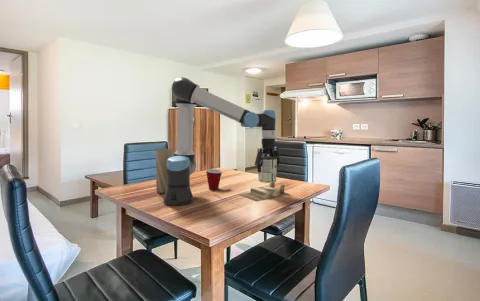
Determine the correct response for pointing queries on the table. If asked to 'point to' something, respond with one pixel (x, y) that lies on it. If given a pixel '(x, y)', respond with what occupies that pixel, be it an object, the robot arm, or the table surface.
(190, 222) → the table surface
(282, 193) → the board
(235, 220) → the table surface
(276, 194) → the beige ridged square block
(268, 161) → the coffee can
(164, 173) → the tan tall block
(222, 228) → the table surface
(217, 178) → the plastic cup
